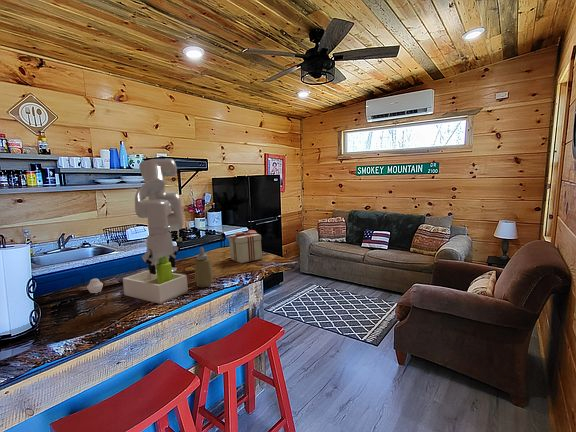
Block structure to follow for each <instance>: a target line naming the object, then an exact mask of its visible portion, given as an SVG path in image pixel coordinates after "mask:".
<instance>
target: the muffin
mask: <svg viewBox="0 0 576 432" xmlns="http://www.w3.org/2000/svg"><path fill="white" fill-rule="evenodd" d="M103 287H104V284H103V282H101V281H100V279H99V278H92V279H90V280H89V283H88V284H87V286H86V288H87V290H88V291H89V293H90V294H91V293H98V292H100V293H101V292H102V290H103Z"/></svg>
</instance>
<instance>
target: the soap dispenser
mask: <svg viewBox="0 0 576 432" xmlns="http://www.w3.org/2000/svg"><path fill="white" fill-rule="evenodd" d="M156 270H157V280H158V284H159V285H160V284H162V283H165V282H168V281H170V280H173V279H172V273H173V272H172V269H171V262H168V260H167V255H166V256H163V258H160V259H159V263H158V264H156Z"/></svg>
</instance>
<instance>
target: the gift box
mask: <svg viewBox="0 0 576 432" xmlns="http://www.w3.org/2000/svg"><path fill="white" fill-rule="evenodd" d="M225 237H226V238H228V242H229V252H230V254H229V255H230V260H231V261H234V262H236V263H240V264H245V263H250V262H254V261H258V260H262V259H263V251H262V234H260V233H258V232H257V231H256V230H254V229H249V230H248V231H245V232H243V231H237V232H234V233H232V234H231V235H227V236H225Z"/></svg>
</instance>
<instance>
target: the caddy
mask: <svg viewBox="0 0 576 432" xmlns="http://www.w3.org/2000/svg"><path fill="white" fill-rule="evenodd" d="M187 276H188V275H186V274H183V273H175V272H172V279H173V280H170V281H168V282H165V283H162V284H160V285H159V284H158V280H157V270H156V274H155V275H154V274H150V272H149V269H148V270H145V271H142V272H139V273H135V274H132V275H128V276H126V277H123V278H122V285H123V293H124V296H127V297H132V298H136V299H140V300H143V301H147V302H150V303H151V302H152V303H156V304H160V305H161V304H163V303H166V302H168V301H171V300H172V299H173V300H174V299H175V298H177V297H180V296H182V295H184V294H186V293H188V292H189V288H188V277H187Z"/></svg>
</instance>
